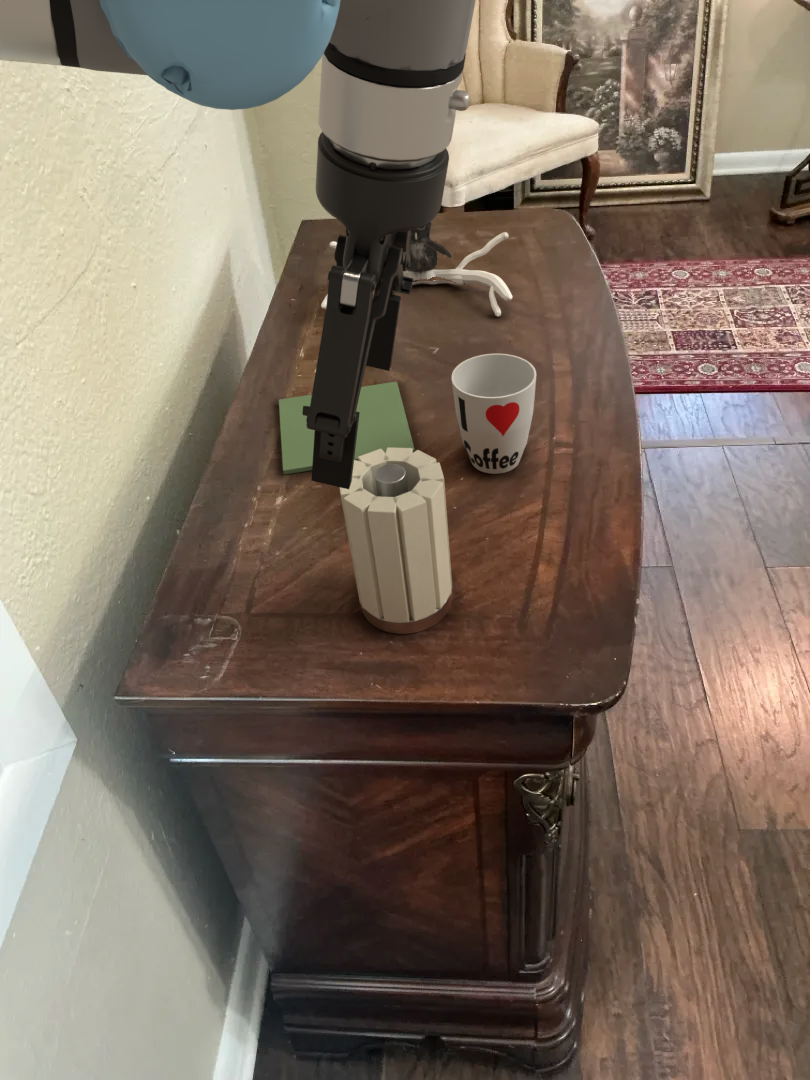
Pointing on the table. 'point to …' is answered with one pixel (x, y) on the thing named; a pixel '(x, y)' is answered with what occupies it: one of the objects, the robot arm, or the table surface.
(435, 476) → the cream slatted holder
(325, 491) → the table surface
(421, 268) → the owl
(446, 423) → the table surface
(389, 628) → the stand
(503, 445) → the cup
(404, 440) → the mat
